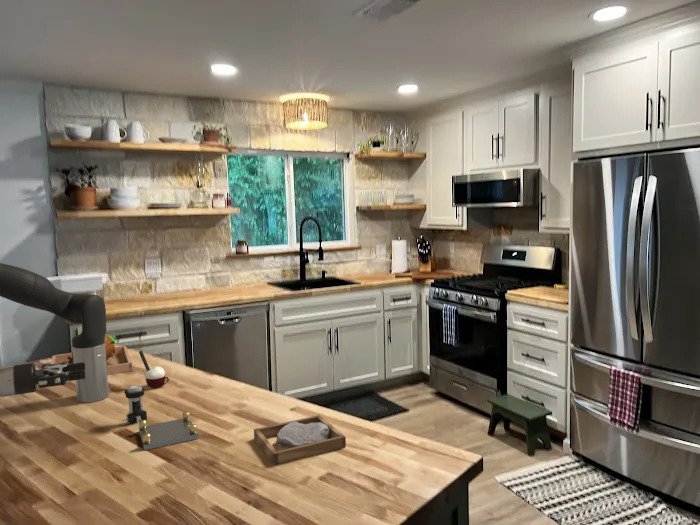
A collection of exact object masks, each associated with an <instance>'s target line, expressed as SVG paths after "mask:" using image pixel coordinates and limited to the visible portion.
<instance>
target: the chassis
mask: <svg viewBox="0 0 700 525" xmlns="http://www.w3.org/2000/svg"><path fill="white" fill-rule="evenodd" d="M190 413H191V412H190V411H184V412H182V418H179V419H174V420H169V421H168V420H167V421H163V422H158V423H151V424H148V425H147V420H141V421H139V423H138V432H139V435H140V436H139V437H140V440H141V443H142V447H143V450H144V451H147V450H151V449H152V450H153V449H158V448H162V447H165V446H170V445H175V444H180V443H186V442H189V441H194V440H198V439H199V433H198V427H197V423H193V422H192V420H191V415H190Z"/></svg>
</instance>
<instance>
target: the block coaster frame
mask: <svg viewBox="0 0 700 525" xmlns="http://www.w3.org/2000/svg"><path fill="white" fill-rule="evenodd" d="M292 421H296V422H298V423H301V424H310V423H323V424H325V425H327V427H328V429H329V437H330V438H328V439H327V440H322V441H318V442H314V443H310V444H306V445H302V446H297V447H293V448H289V447H288V448H286V449H281V450H276V448H275V447H274V446H273V445H272V444H271V443H270V442H269V440H268V438H272V437H277V434H278V433H279V431H280V430H281V429H282V428H283V427H284V426H286V425H288V424H289V423H291V422H292ZM253 439H254V440H255V441H256V443H257V444H258V446H259V447H260V448H261V449H262V451H263V452H264V453H265V455H266V456H267V457H268V458H269V459H270V461H271V462H272V463H273V465H279V464H283V463H287V462H290V461H296V460H299V459H303V458H307V457H310V456H314V455H319V454H323V453H326V452H327V453H328V452H331V451H334V450H338V449H339V450H340V449H342V448H346V447H347V444H346V443H347V442H346V441H347V440H346V439H347V438H346V435H344V434H343V433H341V431H339V430H338V429H337V428H336V427H335V426H334V425H332V424H331V423H329V421H327V420H326V419H324V417H322V416H321V415H320V414H318V415H315V416H313V415H312V416H310V417H305V418H299V419H295V420H290V421H287V422H281V423H276V424H272V425H268V426H262V427H258V428H253Z"/></svg>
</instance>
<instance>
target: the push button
mask: <svg viewBox="0 0 700 525" xmlns="http://www.w3.org/2000/svg"><path fill="white" fill-rule="evenodd" d="M145 391H146V388H145V387H143V386H142V385H141V384H133V385H130V386H128V387H127V389H125V390H124V391H123V393H124V394H125V395H124V396H125V398H126V399H127V400H128V410H129V411H128V413H127V414H126V418H125V419H122V420H121V421H122V425H127V424H128V425H134V424H139V421H141V420H146V421H147V420H148V417H147V411H146V410H145V408H144V406H143V396H145ZM124 421H125V422H124Z"/></svg>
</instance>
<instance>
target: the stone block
mask: <svg viewBox="0 0 700 525" xmlns="http://www.w3.org/2000/svg"><path fill="white" fill-rule="evenodd" d="M291 421H292V422H291V423H289V424H288V425H286V426H284V427H283V428H282V429H281V430H280V431H279V433H278V434H277V436H276V443H277V445H278V446H281V447H286V448H288V449H289V448H293V447H297V446H302V445H306V444H310V443H314V442H318V441H322V440H327V439H330V438H329V429H328V427H327V425H325V424H323V423H310V424H301V423H298V422H296V421H294V420H291Z"/></svg>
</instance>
